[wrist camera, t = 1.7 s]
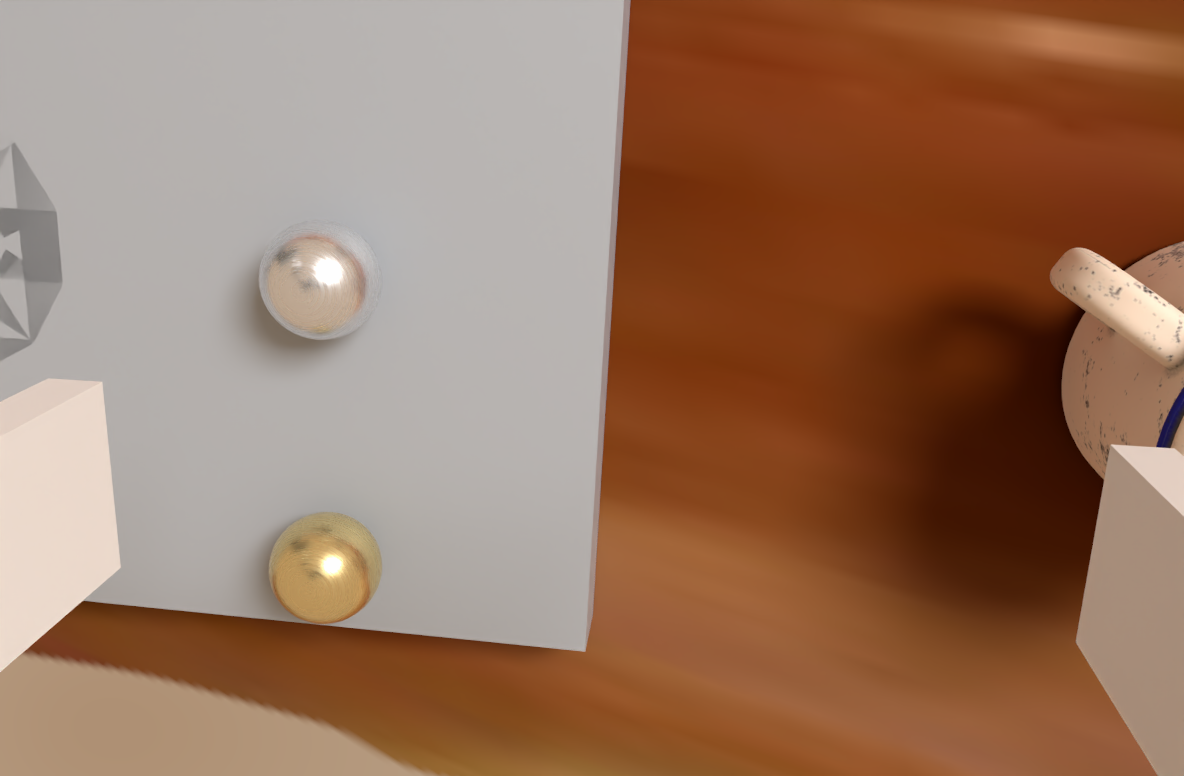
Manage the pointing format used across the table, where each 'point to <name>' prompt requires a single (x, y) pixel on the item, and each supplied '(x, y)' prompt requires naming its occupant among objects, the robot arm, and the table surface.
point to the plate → (368, 354)
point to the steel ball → (320, 279)
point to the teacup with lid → (1124, 352)
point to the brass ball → (325, 567)
